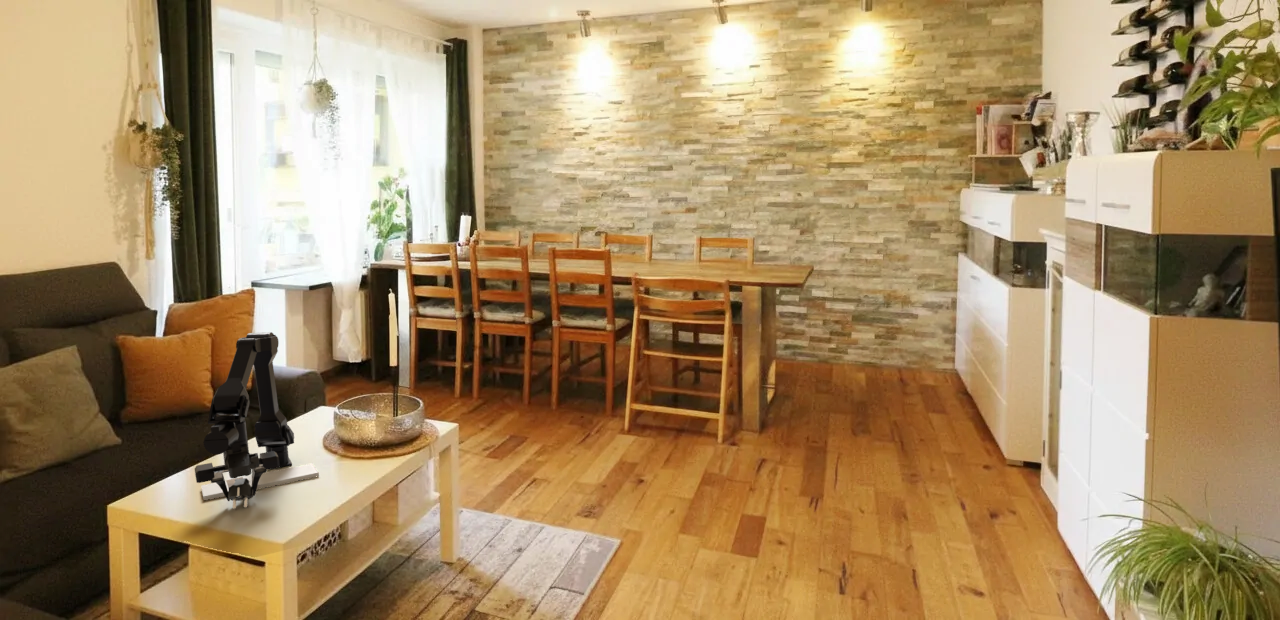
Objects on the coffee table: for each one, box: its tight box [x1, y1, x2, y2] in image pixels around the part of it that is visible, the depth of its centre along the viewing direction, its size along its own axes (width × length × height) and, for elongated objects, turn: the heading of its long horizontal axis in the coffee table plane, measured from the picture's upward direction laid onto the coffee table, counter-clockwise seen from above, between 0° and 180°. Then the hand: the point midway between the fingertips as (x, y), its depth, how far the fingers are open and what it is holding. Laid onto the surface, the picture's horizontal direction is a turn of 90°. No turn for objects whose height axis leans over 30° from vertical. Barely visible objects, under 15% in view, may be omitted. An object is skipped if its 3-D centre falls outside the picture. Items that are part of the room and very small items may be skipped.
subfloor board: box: [200, 462, 320, 501], centre depth 209 cm, size 8×28×1 cm, turn 123°
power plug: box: [227, 478, 254, 510], centre depth 197 cm, size 6×8×12 cm
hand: (241, 498), depth 196 cm, fingers closed on power plug, 5 cm apart
